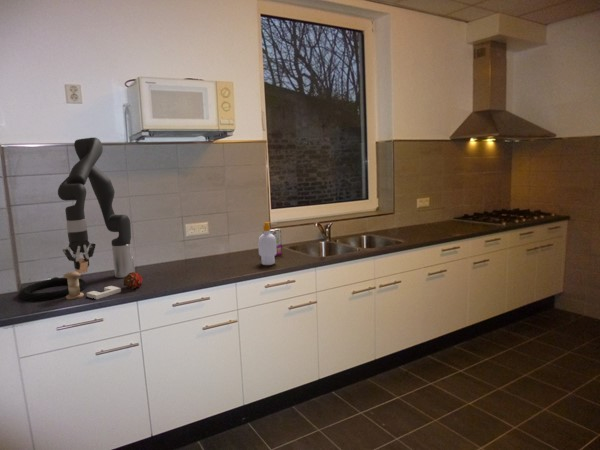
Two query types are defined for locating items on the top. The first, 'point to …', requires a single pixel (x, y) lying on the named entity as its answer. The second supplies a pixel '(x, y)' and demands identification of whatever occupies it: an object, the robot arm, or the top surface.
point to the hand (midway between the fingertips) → (82, 268)
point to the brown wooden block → (82, 266)
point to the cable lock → (55, 281)
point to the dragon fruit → (133, 280)
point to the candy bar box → (277, 240)
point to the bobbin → (73, 285)
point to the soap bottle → (267, 246)
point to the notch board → (108, 291)
